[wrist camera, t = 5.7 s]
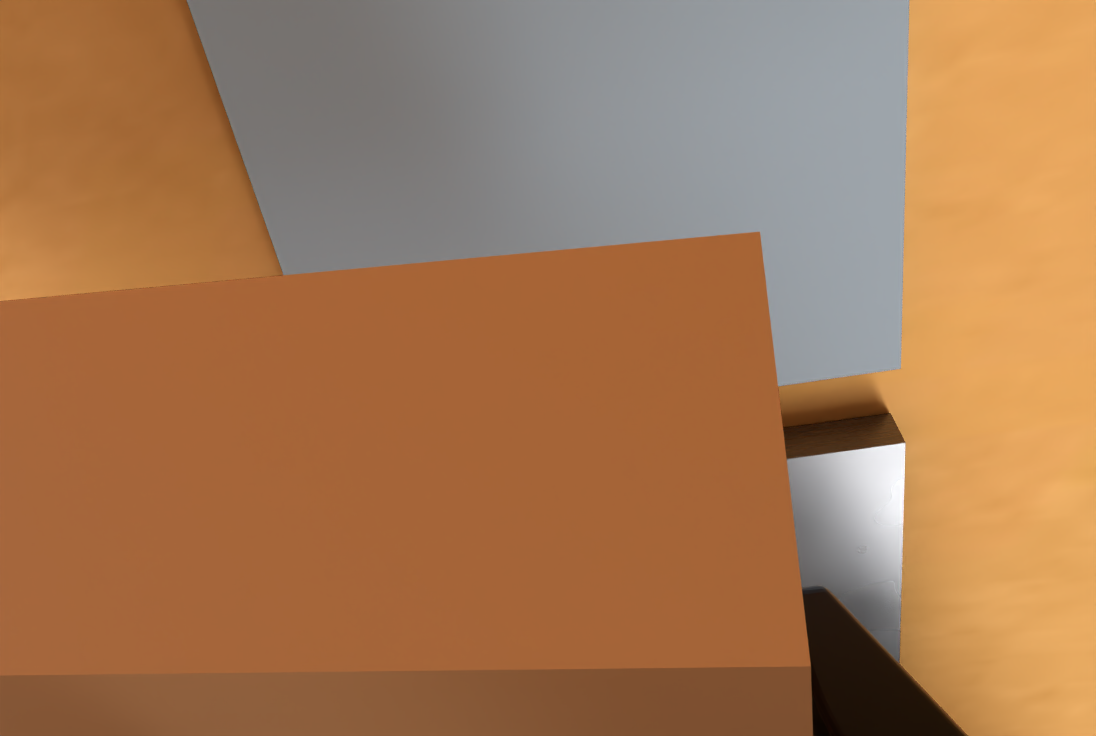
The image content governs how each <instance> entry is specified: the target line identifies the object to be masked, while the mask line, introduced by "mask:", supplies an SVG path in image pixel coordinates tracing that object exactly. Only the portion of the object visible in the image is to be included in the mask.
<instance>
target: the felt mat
mask: <svg viewBox="0 0 1096 736" xmlns="http://www.w3.org/2000/svg"><path fill="white" fill-rule="evenodd" d="M187 3H188V6H189V9H190V11H191V14H192V17H193V20H194V23H195V26H196V28H197V31H198V34H199V37H200V40H201V43H202V45H203V48H204V51H205V54H206V57H207V60H208V62H209V65H210V68H211V71H212V74H213V77H214V79H215V82H216V85H217V88H218V91H219V94H220V96H221V99H222V102H223V105H224V108H225V111H226V113H227V116H228V119H229V122H230V125H231V128H232V130H233V133H234V136H235V139H236V142H237V145H238V147H239V150H240V153H241V156H242V159H243V162H244V164H245V167H246V170H247V173H248V176H249V179H250V181H251V184H252V187H253V190H254V193H255V196H256V198H257V201H258V204H259V207H260V210H261V213H262V215H263V218H264V221H265V224H266V227H267V230H268V232H269V235H270V238H271V241H272V244H273V247H274V249H275V252H276V255H277V258H278V261H279V264H280V266H281V269H282V272H283V275H292V274H303V273H314V272H324V271H335V270H346V269H357V268H368V267H379V266H390V265H401V264H412V263H423V262H433V261H444V260H455V259H466V258H477V257H488V256H499V255H510V254H521V253H532V252H543V251H553V250H564V249H575V248H586V247H597V246H608V245H619V244H630V243H641V242H652V241H662V240H673V239H684V238H695V237H706V236H717V235H728V234H739V233H750V232H760V236H761V244H762V253H763V262H764V270H765V279H766V287H767V296H768V304H769V313H770V321H771V330H772V338H773V347H774V356H775V364H776V373H777V381H778V386H784V385H791V384H798V383H805V382H811V381H818V380H825V379H832V378H839V377H846V376H853V375H860V374H867V373H874V372H881V371H888V370H895V369H901V334H902V291H903V248H904V205H905V161H906V118H907V75H908V32H909V0H187Z"/></svg>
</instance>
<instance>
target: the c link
mask: <svg viewBox="0 0 1096 736" xmlns="http://www.w3.org/2000/svg"><path fill="white" fill-rule="evenodd" d="M0 736H813V719H812V687H811V663H810V655H809V646H808V637H807V629H806V620H805V612H804V603H803V595H802V586H801V578H800V569H799V561H798V552H797V543H796V535H795V526H794V518H793V509H792V501H791V492H790V484H789V475H788V467H787V458H786V450H785V441H784V432H783V424H782V415H781V407H780V398H779V390H778V381H777V373H776V364H775V356H774V347H773V338H772V330H771V321H770V313H769V304H768V296H767V287H766V279H765V270H764V262H763V253H762V244H761V236H760V232H750V233H739V234H728V235H717V236H706V237H695V238H684V239H673V240H662V241H652V242H641V243H630V244H619V245H608V246H597V247H586V248H575V249H564V250H553V251H543V252H532V253H521V254H510V255H499V256H488V257H477V258H466V259H455V260H444V261H433V262H423V263H412V264H401V265H390V266H379V267H368V268H357V269H346V270H335V271H324V272H314V273H303V274H292V275H281V276H270V277H259V278H248V279H237V280H226V281H215V282H205V283H194V284H183V285H172V286H161V287H150V288H139V289H128V290H117V291H106V292H96V293H85V294H74V295H63V296H52V297H41V298H30V299H19V300H8V301H0Z"/></svg>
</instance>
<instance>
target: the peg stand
mask: <svg viewBox="0 0 1096 736" xmlns="http://www.w3.org/2000/svg"><path fill="white" fill-rule="evenodd" d="M783 432H784V441H785V450H786V458H787V467H788V475H789V484H790V492H791V501H792V509H793V518H794V526H795V535H796V543H797V552H798V561H799V569H800V578H801V586H802V587H808V586H823V587H825V588H827V589H828V590H829V591H830V592H831V593H832V594H833V595H834V596H835V597H836V598H837V599H838V600H839V601H840V602H841V603H842V604H843V605H844V606H845V607H846V608H847V609H848V610H849V611H850V612H851V613H852V615H853V616H854V617H855V618H856V619H857V620H858V621H859V622H860V623H861V624H862V625H863V626H864V627H865V628H866V629H867V630H868V631H869V632H870V633H871V634H872V636H873V637H874V638H875V639H876V640H877V641H878V642H879V643H880V644H881V645H882V646H883V647H884V648H885V649H886V650H887V651H888V652H889V653H890V654H891V655H892V657H893V658H894V659H895V660H896V661H897V662H898V663H899V658H900V621H901V585H902V549H903V512H904V476H905V441H904V439H903V437H902V435H901V433H900V431H899V429H898V427H897V425H896V423H895V421H894V419H893V417H892V415H891V413H889V414H882V415H875V416H868V417H861V418H853V419H846V420H839V421H832V422H825V423H818V424H811V425H804V426H797V427H789V428H783Z"/></svg>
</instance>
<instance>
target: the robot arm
mask: <svg viewBox="0 0 1096 736" xmlns="http://www.w3.org/2000/svg"><path fill="white" fill-rule="evenodd" d="M802 595H803V603H804V612H805V620H806V629H807V637H808V646H809V655H810V663H811V687H812V719H813V736H968V735H967V734H966V733H965V732H964V731H963V730H962V729H961V728H960V727H959V726H958V725H957V724H956V723H955V722H954V721H953V719H952V718H951V717H950V716H949V715H948V714H947V713H946V712H945V711H944V710H943V709H942V708H941V707H940V706H939V705H938V704H937V703H936V702H935V701H934V700H933V698H932V697H931V696H930V695H929V694H928V693H927V692H926V691H925V690H924V689H923V688H922V687H921V686H920V685H919V684H918V683H917V682H916V681H915V680H914V679H913V677H912V676H911V675H910V674H909V673H908V672H907V671H906V670H905V669H904V668H903V667H902V666H901V665H900V664H899V663H898V662H897V661H896V660H895V659H894V658H893V657H892V655H891V654H890V653H889V652H888V651H887V650H886V649H885V648H884V647H883V646H882V645H881V644H880V643H879V642H878V641H877V640H876V639H875V638H874V637H873V636H872V634H871V633H870V632H869V631H868V630H867V629H866V628H865V627H864V626H863V625H862V624H861V623H860V622H859V621H858V620H857V619H856V618H855V617H854V616H853V615H852V613H851V612H850V611H849V610H848V609H847V608H846V607H845V606H844V605H843V604H842V603H841V602H840V601H839V600H838V599H837V598H836V597H835V596H834V595H833V594H832V593H831V592H830V591H829V590H828V589H827V588H825V587H823V586H808V587H802Z"/></svg>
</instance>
